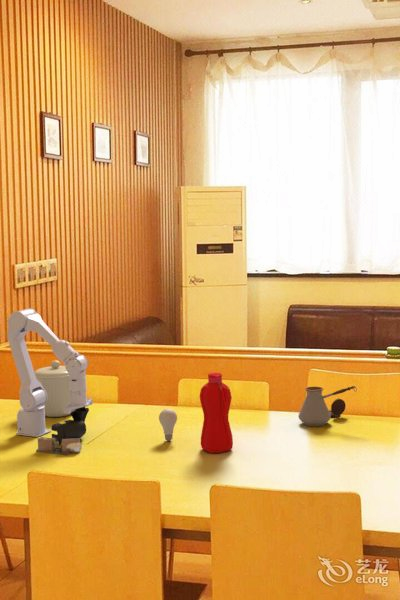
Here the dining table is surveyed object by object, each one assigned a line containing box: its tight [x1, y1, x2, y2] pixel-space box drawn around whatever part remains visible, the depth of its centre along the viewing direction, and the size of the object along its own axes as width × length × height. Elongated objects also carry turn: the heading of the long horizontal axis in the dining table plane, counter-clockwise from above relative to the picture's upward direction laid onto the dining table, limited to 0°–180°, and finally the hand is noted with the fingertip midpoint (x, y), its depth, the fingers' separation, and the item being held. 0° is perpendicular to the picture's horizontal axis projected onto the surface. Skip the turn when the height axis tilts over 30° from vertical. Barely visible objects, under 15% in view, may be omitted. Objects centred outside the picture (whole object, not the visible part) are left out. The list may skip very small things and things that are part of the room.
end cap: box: [50, 419, 87, 445], centre depth 272 cm, size 10×7×7 cm
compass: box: [329, 397, 346, 418], centre depth 295 cm, size 8×8×7 cm
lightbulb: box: [158, 408, 178, 442], centre depth 269 cm, size 6×6×11 cm
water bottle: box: [199, 372, 234, 454], centre depth 256 cm, size 9×11×25 cm
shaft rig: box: [35, 436, 83, 456], centre depth 261 cm, size 14×6×4 cm, turn 64°
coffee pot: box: [297, 385, 358, 427], centre depth 283 cm, size 21×12×15 cm, turn 59°
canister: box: [34, 360, 71, 418], centre depth 309 cm, size 18×18×21 cm
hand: (79, 429), depth 278 cm, fingers closed
